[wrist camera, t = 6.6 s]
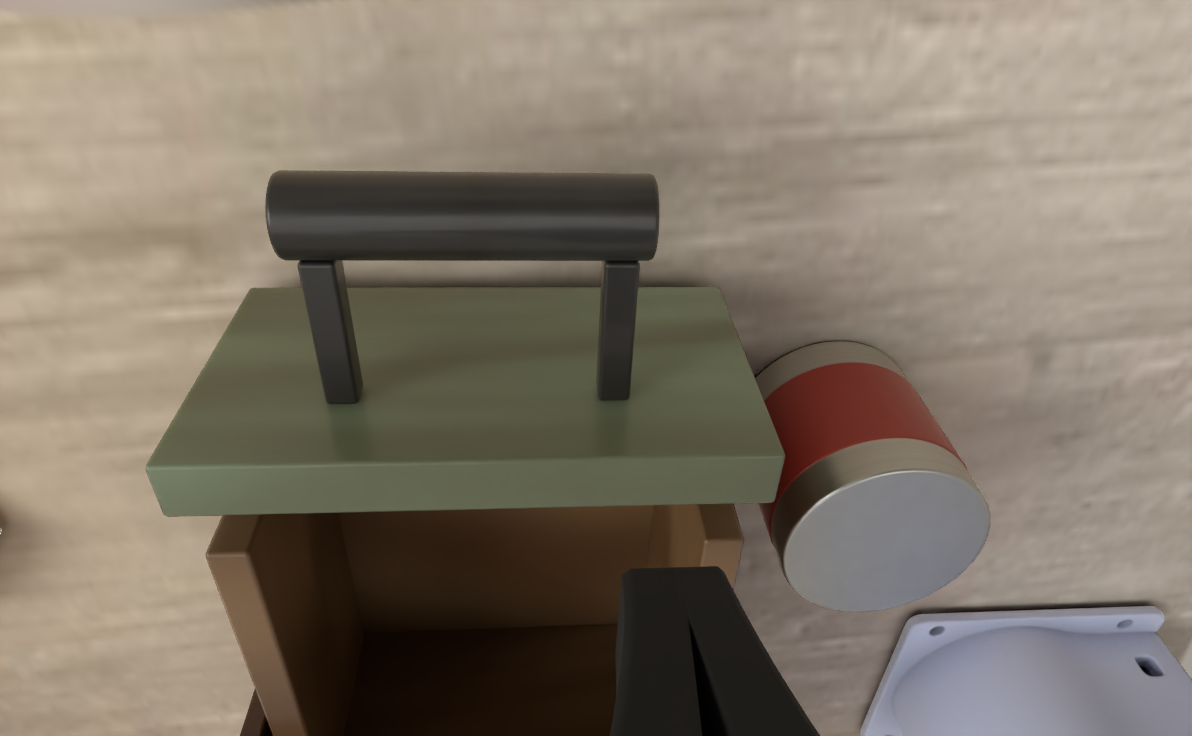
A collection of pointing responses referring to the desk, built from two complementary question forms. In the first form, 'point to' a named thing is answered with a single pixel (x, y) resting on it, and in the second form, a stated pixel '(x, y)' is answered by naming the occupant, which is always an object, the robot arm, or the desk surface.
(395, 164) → the desk surface
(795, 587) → the can
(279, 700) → the drawer
